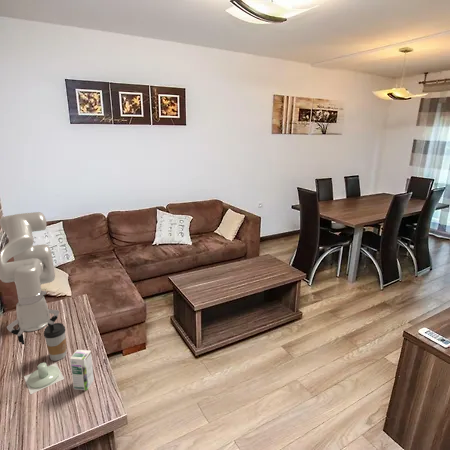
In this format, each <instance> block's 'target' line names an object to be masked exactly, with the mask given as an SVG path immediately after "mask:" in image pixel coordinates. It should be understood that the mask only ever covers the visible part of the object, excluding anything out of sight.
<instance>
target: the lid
mask: <svg viewBox="0 0 450 450" xmlns="http://www.w3.org/2000/svg"><path fill="white" fill-rule="evenodd" d="M36 368H37V369H36V370H35V371H33V372H31V373H32V374H31V373H30V374H31V375H30V376H29V378H28V385H29V386H30V387H32V388H42V387H45V386H48V385H50V384H51V383H53V382H54V381H55V380H56V379H57V378H58V376H59V369H60V368H59V369H58V368H57V367H55V366H50V365H47V362H40V363H39V364H38V365H37V366H36ZM50 386H51V385H50ZM48 387H49V386H48Z"/></svg>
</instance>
